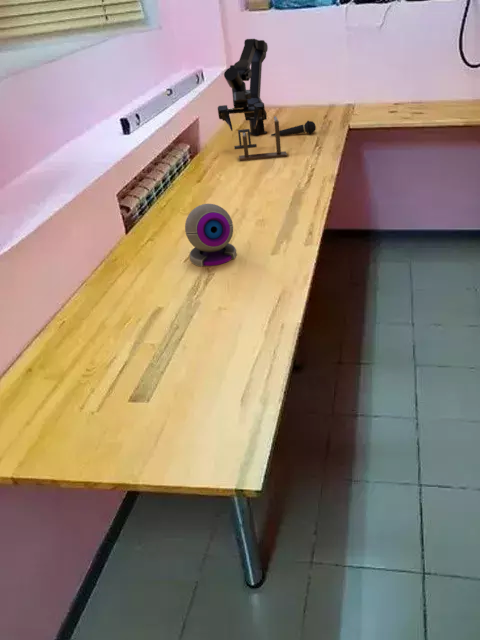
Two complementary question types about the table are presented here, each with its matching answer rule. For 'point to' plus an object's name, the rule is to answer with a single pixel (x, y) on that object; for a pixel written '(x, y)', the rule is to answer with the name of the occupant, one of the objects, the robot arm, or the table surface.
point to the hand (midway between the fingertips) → (243, 129)
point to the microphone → (299, 129)
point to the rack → (264, 155)
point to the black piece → (248, 139)
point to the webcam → (210, 235)
